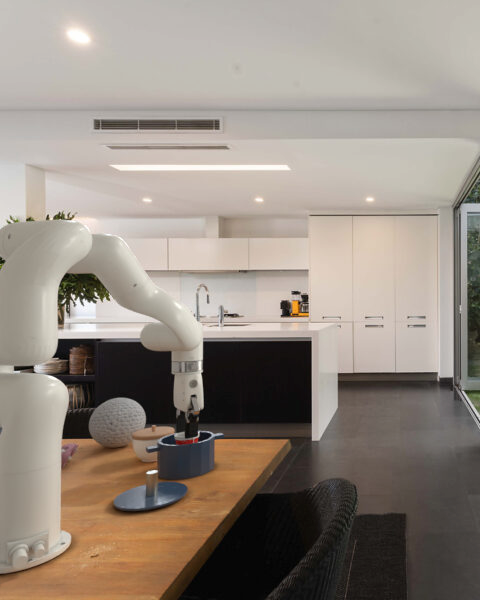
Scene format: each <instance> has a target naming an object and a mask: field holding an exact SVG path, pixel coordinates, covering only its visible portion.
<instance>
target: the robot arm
mask: <svg viewBox="0 0 480 600" xmlns="http://www.w3.org/2000/svg"><path fill="white" fill-rule="evenodd" d="M0 258H1V259H2V260H4V263H3V265H2V266H1V268H0V428H1V432H0V575H1V574H10V573H15V572H20V571H23V570H24V571H25V570H27V569H30V568H33V567H37V566H39V565H42V564H44V563H47V562H49V561H51V560H53V559H54V558H56V557H58V556H60V555H61V554H62V553H64V552H65V551H66V550H67V549H68V548H69V547H70V545H71V543H72V535H71V533H70V532H67V531H66V530H63V529H61V525H62V524H61V522H62V518H61V517H62V468H61V448H62V446H63V445H62V444H63V432H64V431H63V430H64V425H65V421H66V416H67V413H68V409H69V403H70V395H69V390H68V388H67V386H66V385H65V383H64V382H63V381H61V380H60V379H58V378H57V377H55V376H53V375H49V374H44V373H35V372H34V373H33V372H15V367H31V366H39V365H41V364H46V363H47V362H48V361H50V360H52V358H53V357H54V356H55V354H56V353H57V349H58V346H59V345H58V344H59V321H58V320H59V314H58V313H59V311H58V309H59V308H58V301H59V300H58V298H59V288H60V284H61V283H62V282H61V281H62V279H63V278H64V276H65V275H66V274H76V275H79V274H81V275H82V274H93V275H94V276H96V278H97V279H98V280H99V282H100V283H101V284H102V285H103V286H104V288H105V289H106V290H107V291H108V293H109V294H110V295H111V297H112V298H113V299H114V300H115V302H116V303H117V304H118V306H120V307H122V308H124V309H126V310H128V311H131V312H134V313H136V314H139V315H143V316H145V317H149V318H152V319H154V320H157V321H152V322H150V323H147V324H146V325H144V327H143V328H142V329H141V331H140V334H139V340H140V343H141V344H142V346H143V347H144V348H146V349H147V350H150V351H153V352H171V375H174V381H173V405H174V407H175V410H176V414H175V417H176V418H175V433H180V432H185V438H186V439H187V438H193V437H197V436H198V431H199V415H200V411H202V410H203V409H204V408H205V407H204V406H205V405H204V404H205V403H204V386H203V385H204V384H203V375H202V373H203V372H204V326H203V323H202V322H201V321H198V320H197V318H196V316H195V315H194V314H193V312H192V311H191V309H190V308H189V307H188V306H187V305H186V304H185V303H184V302H183V301H181V300H179V299H178V298H177V297H175V296H174V295H172V294H171V293H169V292H168V291H166V290H165V289H163V288H161V287H159V286H158V285H156V284H155V283H154V282H153V281H152V279H151V277H150V276H149V274H148V273H147V272H146V270H145V269H144V267H143V266H142V264H141V263H140V261H139V260H138V258H137V257H136V255H135V254H134V252H133V250H131V248H130V247H129V245H128V244H127V242H126V241H125V240H124V239H123V238H121V237H120V236H119V235H116V234H112V233H92V232H91V230H90V228H89V227H88V226H87V225H85V224H84V223H81V222H80V221H77V220H71V219H45V220H44V219H43V220H30V221H29V220H28V221H15V222H11V223H8V224H6V225H3V226H2V227H1V228H0Z"/></svg>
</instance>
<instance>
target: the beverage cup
mask: <svg viewBox="0 0 480 600" xmlns="http://www.w3.org/2000/svg"><path fill="white" fill-rule="evenodd" d="M176 433H177V432H176ZM199 434H200V433H199V432H198V436H197V437H193V438H187V439H186V438H185V432H180V433H177V434H175V436H174V437H175V439H176V445H183V444H191V443H196V442H198V437H199Z"/></svg>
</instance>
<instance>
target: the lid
mask: <svg viewBox="0 0 480 600" xmlns="http://www.w3.org/2000/svg"><path fill="white" fill-rule="evenodd" d="M188 491H189V490H188V486H187V485H186V484H185V483H181V482H177V481H159V476H158V471H157V469H153V470H148V471H146V472H145V484H142V485H139V486H135V487H133V488H129V489H127V490H125V491H123V492H121V493H119V494H118V495H117V496H116V497H115V498H114V499H113V505H112V506H113V507H114V508H116V509H117V510H119V511H126V512H140V511H149V510H153V509H158V508H163V507H165V506H169V505H171V504H173V503H177V502H178V501H180V500H181V499H182V498H184V497H185V496H186V495H187V494H188Z"/></svg>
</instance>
